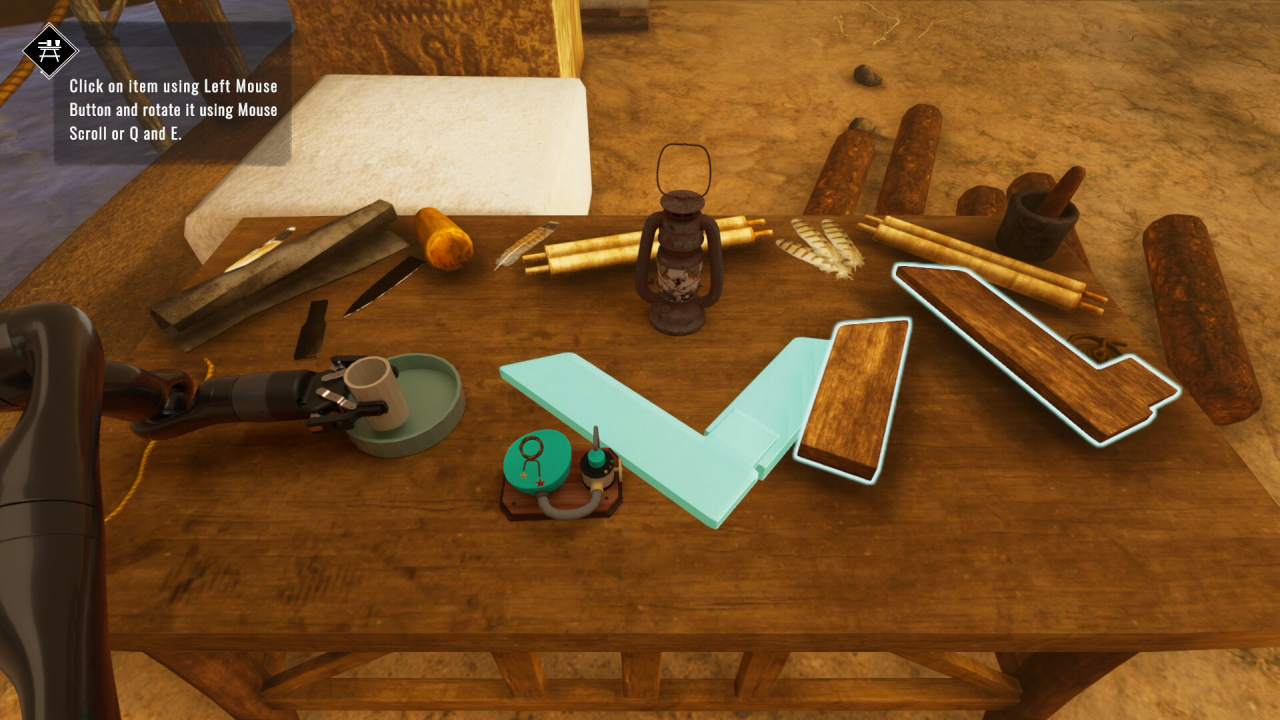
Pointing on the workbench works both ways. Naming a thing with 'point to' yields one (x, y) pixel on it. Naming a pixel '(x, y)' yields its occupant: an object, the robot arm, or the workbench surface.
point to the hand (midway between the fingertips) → (392, 388)
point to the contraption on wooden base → (559, 479)
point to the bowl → (417, 408)
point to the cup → (377, 391)
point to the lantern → (679, 260)
